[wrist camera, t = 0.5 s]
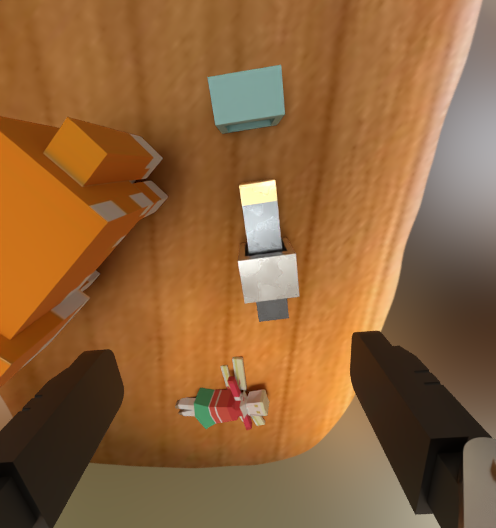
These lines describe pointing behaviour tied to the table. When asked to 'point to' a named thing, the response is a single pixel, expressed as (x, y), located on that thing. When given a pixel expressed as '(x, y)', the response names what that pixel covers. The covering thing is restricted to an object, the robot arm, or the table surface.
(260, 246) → the bar
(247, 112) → the socket
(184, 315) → the table surface
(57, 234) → the toy
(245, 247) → the sleeve
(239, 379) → the toy
